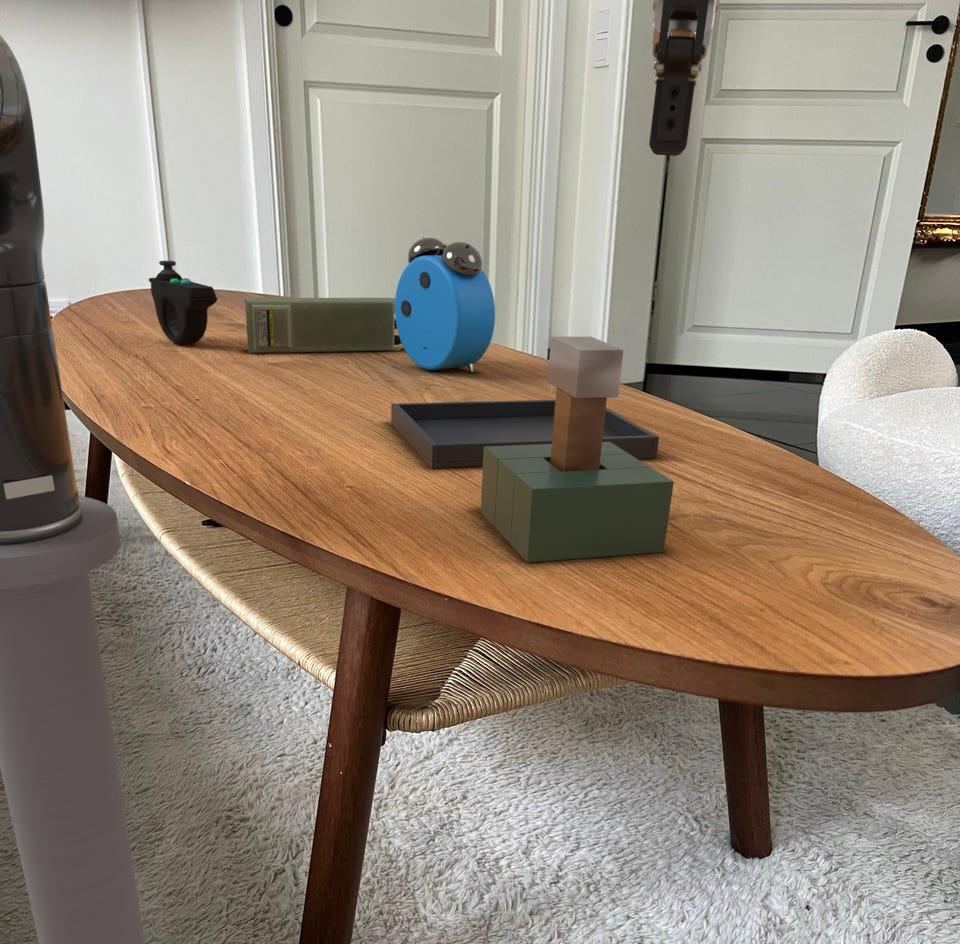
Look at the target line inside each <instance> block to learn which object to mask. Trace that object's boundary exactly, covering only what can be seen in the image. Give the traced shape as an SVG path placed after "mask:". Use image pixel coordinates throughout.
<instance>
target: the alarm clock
mask: <svg viewBox="0 0 960 944" xmlns="http://www.w3.org/2000/svg"><path fill="white" fill-rule="evenodd" d="M482 258H483V257H482V255H481V254H480V252H479V250H477V248H476V247H475V246H474V245H472V244H469V243H468V242H465V241H455V242H451V243H450V244H446V243H443V242H442V241H441V240H440V239H438V238H435V237H425V236H423V237H421V238H420V239H418V240H416V241H415V242H414V243H412V245H411V246H410V248H409V250H408V252H407V263H408V264H407V265H406V267H405V268H404V269H403V271H402V273H401V275H400V277H399V280H398V283H397V287H396V291H395V297H394V298H395V319H396V325H397V329H396V330H397V335H399V337H400V340H401V343H402V344H401V345H402V347H403V349H404V351H405V353H406V355H407V356H408V357H409V358H410V360H411V361H412V362H413V363H414V364H415V365H417V366H418V367H420V368H421V369H424V370H427V371H436V370H437V371H439V370H445V369H453V368H454V369H457V368H465V367H467V368H468V369H469V371H470V373H473V372H474V367H473V365H474V364H476V363H477V362H478V361H479V360H481V359H482V358H483V356H484V355H485V353H486V352H487V350H488V348H489V346H490V344H491V342H492V339H493V335H494V332H495V324H496V305H495V299H494V298H495V297H494V294H493V293H494V292H493V289H492V286H491V283H490V281H489V279H488V277H487V275H486V273H485V272H484V270H483V268H482V267H483V259H482Z"/></svg>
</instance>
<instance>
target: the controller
mask: <svg viewBox="0 0 960 944" xmlns="http://www.w3.org/2000/svg"><path fill="white" fill-rule="evenodd" d="M158 264H159V265H160V266H163V269H162V270H160V272H159V273H157V274H156V276H155V277H150V278H148V282H149V283H150V294H151V297H152V300H153V304H154V308H155V313H156V317H157V322H158V323H159V325H160V328H161V330H162V332H163V333H164V335H165V336H166V338H167V339H168V340H169V341H171V342H172V343H173V344H177V345H193V344H196V343H198V342H199V341H201V339H203V337H204V335H205V334H206V330H207V328H208V327H207V326H208V311H209V308H210V307H212V306H213V305H215V304H216V303H217V302H218V297H217V294H216V291H215V289H214V288H213V286H210V285H206V284H202V283H197V282H194V281H191V279H190V278H187V277H182V276H181V275H180V273H178V272H177V271H176V270H175V269H173V267H174V266H176V264H177V262H176V261H174V260H160V261H158Z"/></svg>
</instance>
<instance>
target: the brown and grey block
mask: <svg viewBox="0 0 960 944" xmlns="http://www.w3.org/2000/svg"><path fill="white" fill-rule="evenodd" d="M623 358H624V349H622V348H620V347H617V346H615V345H612V344H610V343H608V342H605V341H603V340H600V339H598V338H595V337H593V336H551V337H550V345H549V359H548V368H547V369H548V371H547V383H549V384H550V385H551V386H554V387H555V388H556V390H555V400H556V401H555V413H554V425H553V437H552V449H551V461H550V464H551V465H553V466H554V467H555V468H557V469H558V470H559V471H560V472H564V471H584V470H599V466H600V457H601V448H602V439H603V430H604V420H605V411H606V408H607V403H608V402H607V400H608V399H610V398H611V399H612V398H618V397H619V393H620V386H621V385H620V384H621V375H622V366H623Z"/></svg>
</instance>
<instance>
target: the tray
mask: <svg viewBox="0 0 960 944" xmlns="http://www.w3.org/2000/svg"><path fill="white" fill-rule="evenodd" d="M555 401H556V399H530V400H529V399H527V400H526V399H525V400H521V399H520V400H488V401H486V400H485V401H483V400H482V401H444V402H443V401H441V402H402V403H391V404H390V405H391V406H390V410H391V411H390V413H391V414H390V424H391V426H392V427H393V428H394V429H395V430H396V431H397V432H398V433H399V435H401V436H402V437H403V439H404V440H405V441H406V442H407V443H408V444H409V445H410V446H411V447H412V448H413V450H414V451H416V453H417V454H418V455H419V456H420V458H422V460H424V462H426V464H427V465H428V466H429V467H430V468H431V469H451V468H470V467H471V468H473V467H483V452H484V447H487V446H513V445H539V444H552V437H553V425H554V413H555ZM659 441H660V436H659V435H657V434H656V433H653V432H651V431H650V430H648V429H646V428H644V427H642V426H640V425H638V424H637V423H636V422H633V421H631V420H630V419H628V418H626V417H624V416H622V415H621V414H619V413H617V412H616V411H614V410H612V409H610V408H609V407H606V411H605V420H604V430H603V439H602V442H611V443H612V444H614V445H616V446H617V447H619V448H620V449H622V450H624V451H625V452H627V453H628V454H630V455H632V456H633V457H635V458H636V459H638V460H645V459H646V460H647V459H648V460H649V459H657V457H658V450H659Z"/></svg>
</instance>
